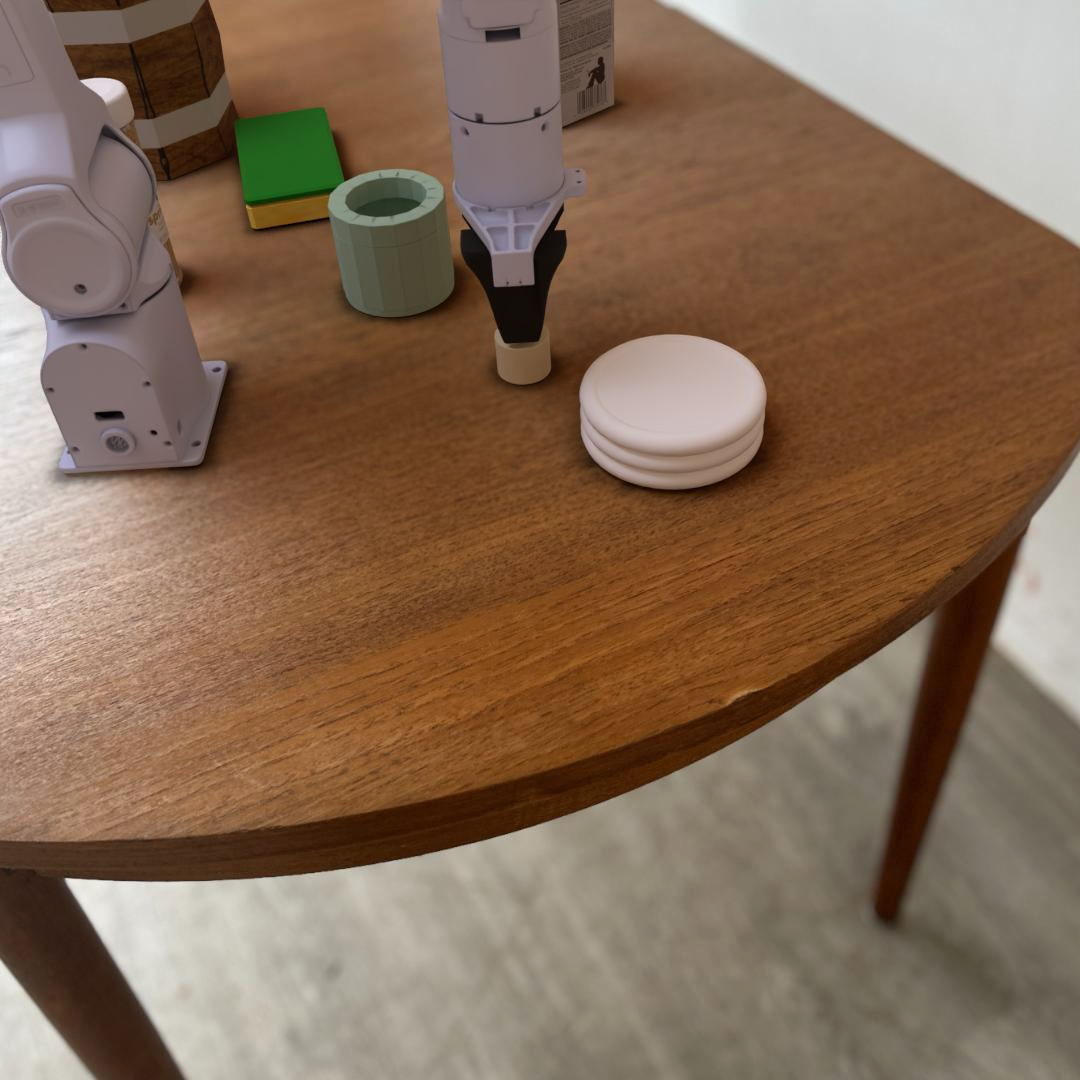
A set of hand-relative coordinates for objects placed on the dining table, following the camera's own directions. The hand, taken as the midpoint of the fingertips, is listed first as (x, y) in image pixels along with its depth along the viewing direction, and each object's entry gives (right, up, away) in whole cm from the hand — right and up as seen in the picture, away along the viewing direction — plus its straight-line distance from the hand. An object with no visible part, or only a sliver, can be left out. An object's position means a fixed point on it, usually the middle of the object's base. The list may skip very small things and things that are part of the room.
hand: (521, 328), depth 69 cm
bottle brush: (0, -2, +2) cm, 3 cm away
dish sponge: (-18, +15, +21) cm, 31 cm away
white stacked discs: (+8, -7, -3) cm, 11 cm away
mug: (-31, +21, +29) cm, 47 cm away
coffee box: (+2, +24, +29) cm, 37 cm away
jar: (-8, +4, +9) cm, 13 cm away
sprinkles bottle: (-25, +5, +11) cm, 28 cm away
